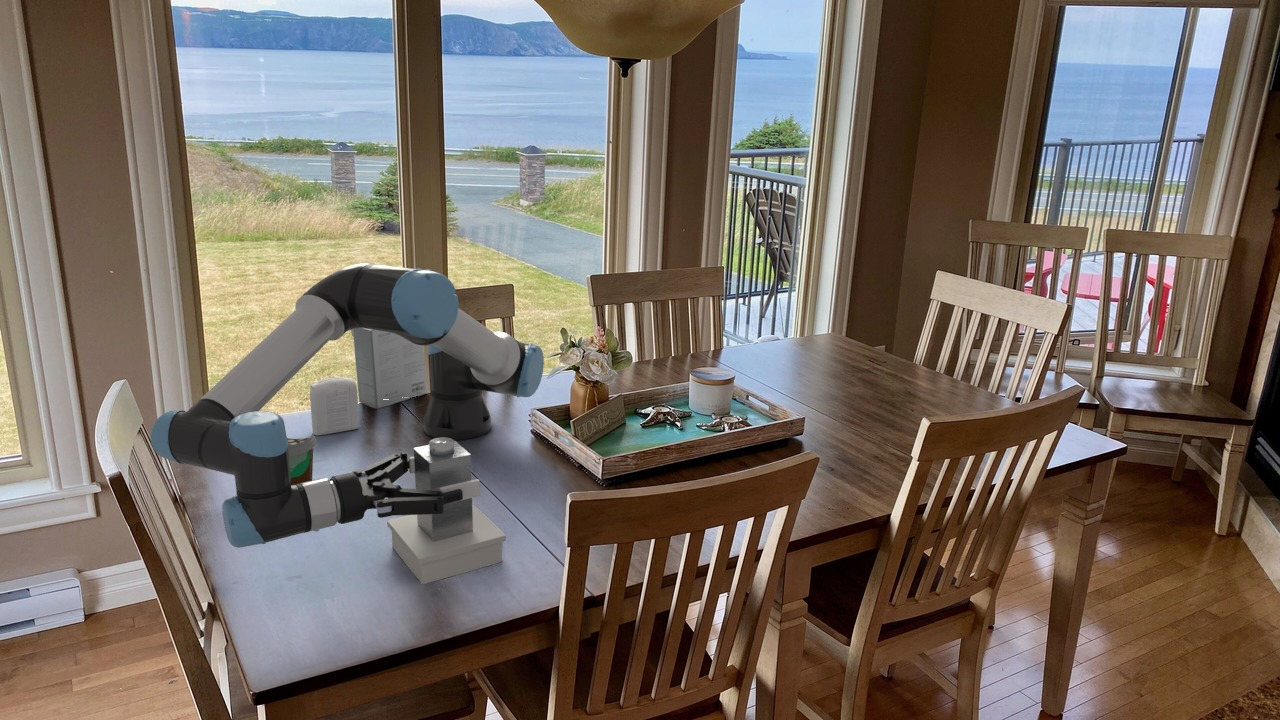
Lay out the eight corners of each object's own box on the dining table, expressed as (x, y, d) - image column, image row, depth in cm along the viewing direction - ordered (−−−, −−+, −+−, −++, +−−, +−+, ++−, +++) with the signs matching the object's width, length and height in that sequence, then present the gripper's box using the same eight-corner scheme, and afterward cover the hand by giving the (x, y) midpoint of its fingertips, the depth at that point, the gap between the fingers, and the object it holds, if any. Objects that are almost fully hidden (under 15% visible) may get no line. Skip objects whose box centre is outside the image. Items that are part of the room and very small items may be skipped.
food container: (249, 499, 172) (243, 450, 169) (253, 485, 178) (248, 438, 175) (318, 493, 175) (314, 445, 172) (320, 479, 181) (316, 433, 178)
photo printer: (356, 423, 210) (352, 372, 206) (362, 429, 206) (358, 377, 203) (310, 431, 204) (305, 379, 201) (315, 438, 201) (311, 385, 197)
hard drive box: (409, 387, 234) (405, 311, 228) (428, 394, 230) (424, 317, 223) (357, 402, 223) (351, 323, 217) (375, 410, 218) (370, 329, 212)
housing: (456, 514, 158) (453, 431, 153) (473, 531, 152) (470, 445, 148) (417, 524, 154) (413, 439, 150) (433, 542, 149) (428, 453, 144)
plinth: (469, 525, 165) (469, 500, 163) (506, 561, 153) (505, 535, 152) (388, 546, 157) (387, 520, 155) (420, 586, 145) (419, 559, 144)
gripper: (313, 492, 152) (434, 465, 163) (360, 558, 132) (494, 522, 144) (309, 450, 150) (433, 426, 161) (356, 511, 130) (493, 479, 141)
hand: (462, 471), depth 152 cm, fingers open, 13 cm apart
